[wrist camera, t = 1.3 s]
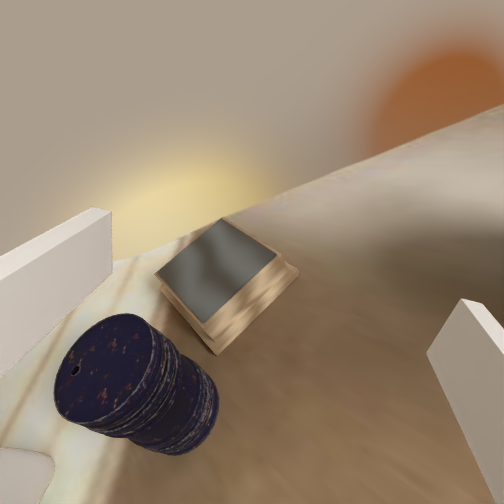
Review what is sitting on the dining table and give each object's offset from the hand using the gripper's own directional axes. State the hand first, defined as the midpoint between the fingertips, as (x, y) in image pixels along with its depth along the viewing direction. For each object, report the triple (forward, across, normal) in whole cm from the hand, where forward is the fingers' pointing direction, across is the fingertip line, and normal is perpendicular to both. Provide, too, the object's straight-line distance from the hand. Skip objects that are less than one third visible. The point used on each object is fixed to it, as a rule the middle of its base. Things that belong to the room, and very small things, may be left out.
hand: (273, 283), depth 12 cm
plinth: (+30, -5, -21) cm, 37 cm away
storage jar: (+14, -6, -30) cm, 33 cm away
